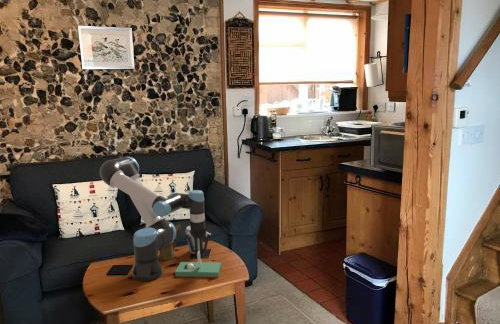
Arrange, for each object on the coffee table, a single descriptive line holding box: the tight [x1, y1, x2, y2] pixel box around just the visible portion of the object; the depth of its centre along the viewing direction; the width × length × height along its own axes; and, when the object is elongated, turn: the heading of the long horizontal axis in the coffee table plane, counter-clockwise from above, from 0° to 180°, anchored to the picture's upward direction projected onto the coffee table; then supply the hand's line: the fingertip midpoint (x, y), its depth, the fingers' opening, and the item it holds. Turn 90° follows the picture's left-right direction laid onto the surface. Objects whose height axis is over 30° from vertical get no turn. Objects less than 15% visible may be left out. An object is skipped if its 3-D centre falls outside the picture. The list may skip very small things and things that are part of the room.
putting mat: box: [174, 261, 222, 278], centre depth 214 cm, size 22×12×2 cm, turn 86°
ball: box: [187, 263, 194, 269], centre depth 214 cm, size 4×4×4 cm
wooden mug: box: [158, 223, 181, 261], centre depth 233 cm, size 9×14×18 cm, turn 123°
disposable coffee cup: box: [185, 225, 200, 254], centre depth 239 cm, size 11×11×15 cm
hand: (199, 264), depth 213 cm, fingers closed
